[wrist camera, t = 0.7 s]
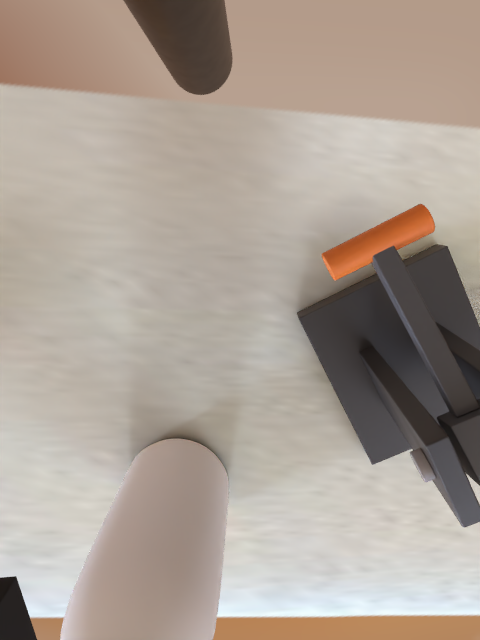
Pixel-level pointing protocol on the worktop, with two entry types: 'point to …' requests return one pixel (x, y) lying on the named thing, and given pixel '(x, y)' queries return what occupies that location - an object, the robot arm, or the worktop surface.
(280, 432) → the worktop surface
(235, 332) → the worktop surface
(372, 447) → the switch base
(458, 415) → the switch lever
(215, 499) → the milk bottle
